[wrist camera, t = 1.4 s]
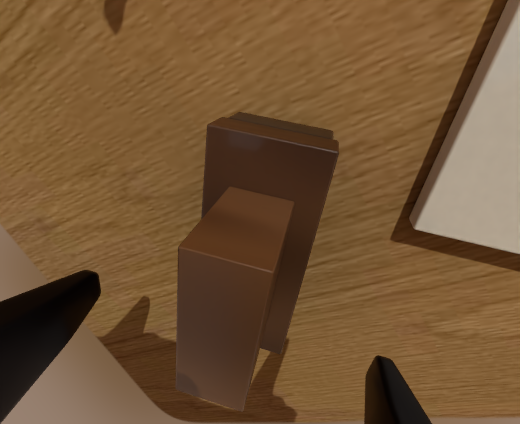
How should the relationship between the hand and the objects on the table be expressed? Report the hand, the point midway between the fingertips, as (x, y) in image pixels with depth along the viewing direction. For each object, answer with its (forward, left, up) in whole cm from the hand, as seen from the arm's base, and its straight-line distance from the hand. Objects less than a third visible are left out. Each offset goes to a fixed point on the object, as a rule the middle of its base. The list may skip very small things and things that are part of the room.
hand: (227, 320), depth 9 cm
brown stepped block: (0, 0, -6) cm, 6 cm away
